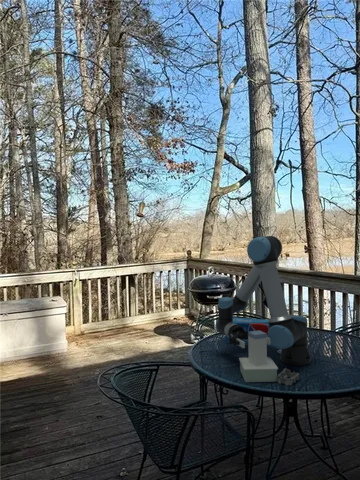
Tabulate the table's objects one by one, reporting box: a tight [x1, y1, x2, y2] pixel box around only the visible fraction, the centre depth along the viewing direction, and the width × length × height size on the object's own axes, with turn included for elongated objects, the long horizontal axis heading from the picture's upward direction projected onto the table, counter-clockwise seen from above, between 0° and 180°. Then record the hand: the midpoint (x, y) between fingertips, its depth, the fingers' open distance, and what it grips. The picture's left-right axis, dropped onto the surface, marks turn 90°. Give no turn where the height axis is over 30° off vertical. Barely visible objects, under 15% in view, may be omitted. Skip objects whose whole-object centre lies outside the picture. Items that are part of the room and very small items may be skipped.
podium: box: [238, 356, 279, 383], centre depth 183 cm, size 15×15×6 cm
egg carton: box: [276, 367, 300, 387], centre depth 177 cm, size 11×8×4 cm
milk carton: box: [247, 330, 268, 366], centre depth 183 cm, size 6×6×14 cm
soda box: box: [225, 316, 275, 348], centre depth 233 cm, size 40×14×13 cm, turn 70°
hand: (257, 343), depth 182 cm, fingers open, 13 cm apart
